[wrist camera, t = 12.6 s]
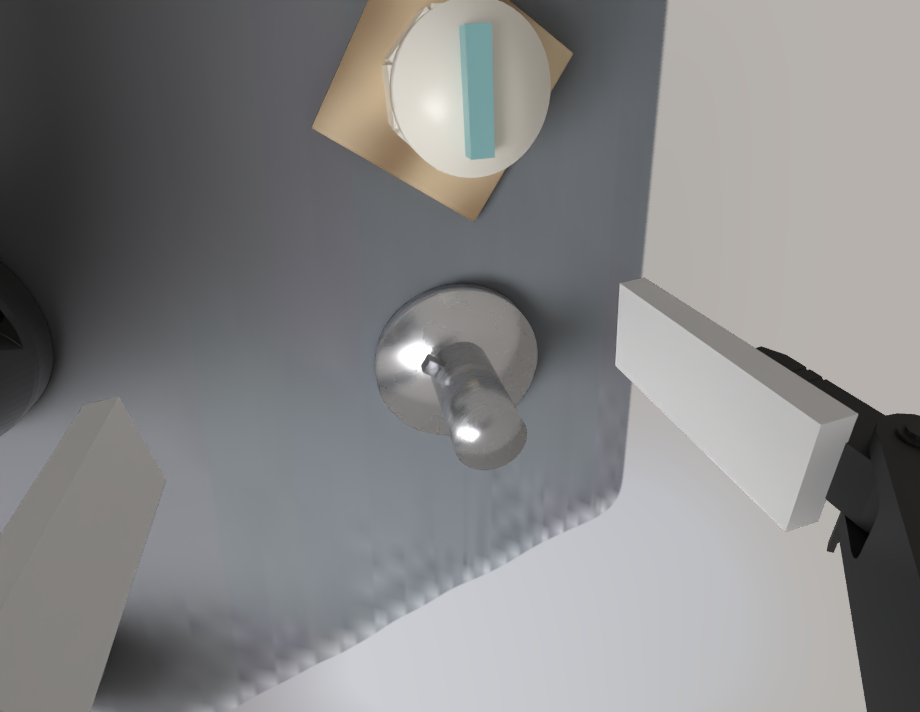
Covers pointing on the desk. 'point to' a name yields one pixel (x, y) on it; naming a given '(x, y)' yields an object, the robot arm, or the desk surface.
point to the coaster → (365, 112)
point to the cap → (467, 86)
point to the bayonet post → (460, 370)
